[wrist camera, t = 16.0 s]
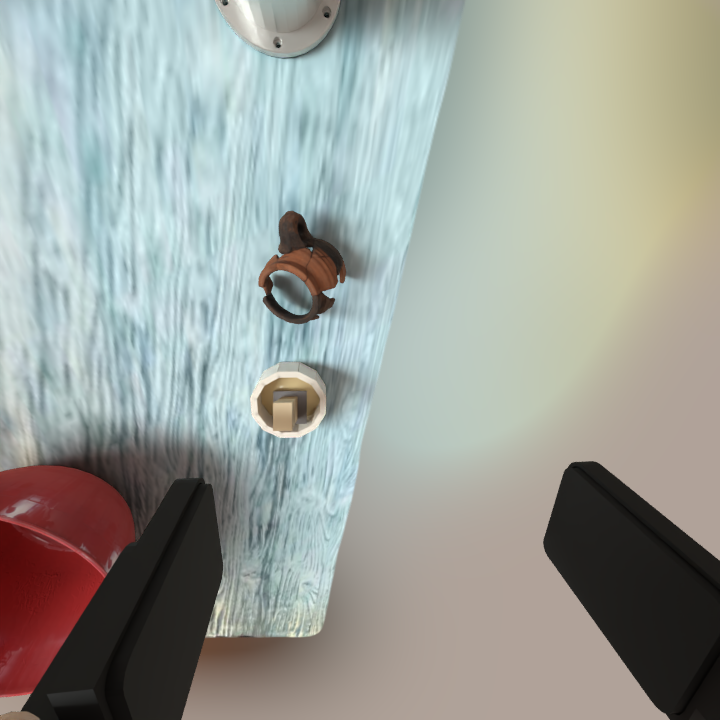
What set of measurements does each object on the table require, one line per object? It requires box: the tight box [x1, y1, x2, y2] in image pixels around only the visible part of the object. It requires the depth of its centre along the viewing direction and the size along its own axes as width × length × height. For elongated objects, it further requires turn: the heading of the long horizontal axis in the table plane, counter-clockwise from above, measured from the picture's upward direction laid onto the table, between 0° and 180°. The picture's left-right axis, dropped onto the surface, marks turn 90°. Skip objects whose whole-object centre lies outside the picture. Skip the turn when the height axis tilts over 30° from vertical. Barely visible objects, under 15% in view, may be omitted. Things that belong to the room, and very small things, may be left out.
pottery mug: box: [259, 211, 346, 324], centre depth 38 cm, size 12×9×8 cm
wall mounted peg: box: [273, 391, 307, 431], centre depth 41 cm, size 4×4×10 cm
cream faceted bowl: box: [250, 362, 326, 438], centre depth 45 cm, size 10×10×4 cm
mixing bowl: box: [0, 465, 135, 697], centre depth 42 cm, size 28×28×16 cm
